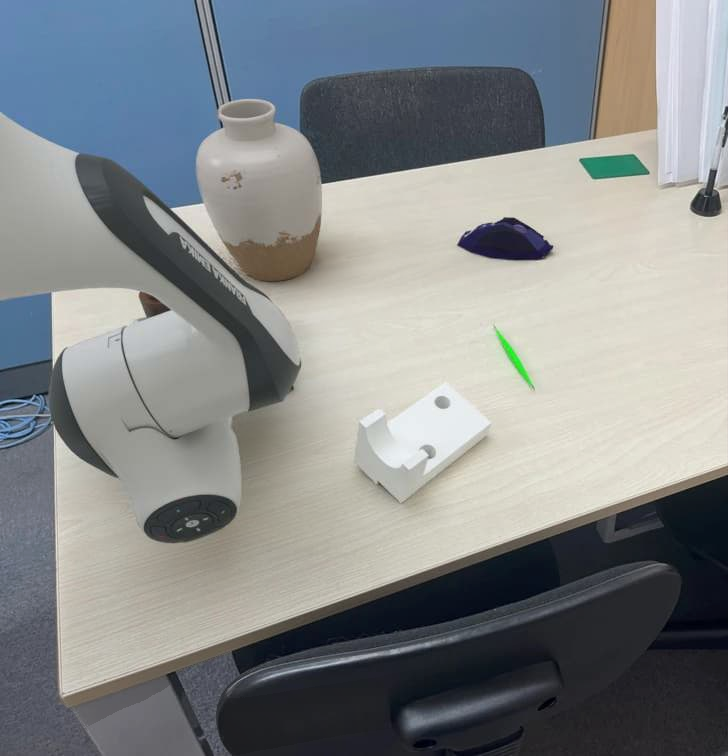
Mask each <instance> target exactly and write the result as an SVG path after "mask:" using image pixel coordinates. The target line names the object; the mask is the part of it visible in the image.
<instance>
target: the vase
mask: <svg viewBox="0 0 728 756" xmlns="http://www.w3.org/2000/svg"><path fill="white" fill-rule="evenodd" d="M276 115H277V108H276V106H275V105H274V104H273V103H272V102H270V101H268V100H264V99H258V98H242V99H236V100H231V101H229V102H225V103H224V104H222V105H220V106H219V107H218V109H217V111H216V116H217V118H218V120H219V121H220V122H221V123H222V126H223V127H222V128H220V129H217V130H215V131H213V132H212V133H210V134H209V135H208V136H207V137H205V138H204V139H203V140H202V142H201V143H200V145H199V147H198V149H197V153H196V158H195V175H196V182H197V187H198V191H199V194H200V197H201V200H202V203H203V206H204V208H205V210H206V213H207V215H208V217H209V218H210V221H211V223H212V225H213V227H214V229H215V231H216V233H217V235H218V236H219V239H220V240H221V241H222V243H223V245H224V246H225V248H226V250H227V251H228V253H229V254H230V255H231V256H232V258H233V259H234V260H235V262H236V264H237V265H238V266H239V267H240V268H241V269H242V270H243V271H244V273H246V274H247V275H248V276H249V277H250V278H252V279H255V280H258V281H262V282H282V281H287V280H290V279H294V278H296V277H298V276H300V275H302V274H304V273H305V272H306V271H308V269H309V268H310V266H311V265H312V262H313V260H314V257H315V253H316V249H317V245H318V242H319V238H320V231H321V226H322V216H323V215H322V214H323V213H322V212H323V184H322V177H321V176H322V175H321V170H320V164H319V161H318V158H317V155H316V153H315V150H314V148H313V147H312V145H311V143H310V142H309V140H308V139H307V138H306V136H304V134H302V132H300V131H299V130H297V129H295V128H293V127H291V126H289V125H286V124H283V123H279V122H275V116H276Z"/></svg>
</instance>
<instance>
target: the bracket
mask: <svg viewBox="0 0 728 756" xmlns="http://www.w3.org/2000/svg"><path fill="white" fill-rule="evenodd" d="M491 425H492V421H491V420H490V419H488V418H487V416H485V415H484V413H482V412H480V410H479V409H478V408H476V407H475V405H473V404H472V403H471V402H469V400H468V399H466V398H465V397H464V396H463V395H462V394H460V392H459V391H457V390H456V389H455V388H454V387H453V386H452V385H451V383H449V382H447V381H445V382H444V383H442V384H440V385H439V386H437V388H435V389H433V390H432V391H431V392H429V393H428V394H426V395H425V396H423V397H422V398H421V399H419V400H418V401H416V402H415V403H413V404H412V405H410V406H409V407H407V408H406V409H405V410H403V411H402V412H400V413H398V414H397V415H396V416H394V417H393V418H391V419H390V420H389V421H387V414H386V413H385V412H384V411H383V410H382V409H381V408H380V407H379V408H377V409H375V410H374V411H373V412H371V413H369V414H368V415H366V416H365V417H364V418H362V419H361V420H359V421H358V428H357V435H356V436H357V437H356V443H355V452H354V460H353V463H354V464H355V465H357V467H358V468H359V469H360V470H361V471H362V472H363V473H364V474H366V476H367V477H368V478H369V479H370V480H371V481H372V482H373V483H374V484H375V485H378V484H380V485H382V486H383V487H384V488H385V489H386V491H388V492H389V493H390V494H391V495H392V497H394V499H395V500H397V501H398V503H400V504H402V503H405V501H406V500H408V499H409V498H410V497H412V496H413V495H414V494H415V493H416V492H417V491H419V490H420V489H421V488H423V487H424V486H425V485H426V484H428V483H429V482H430V481H432V480H433V479H434V478H435V477H437V476H438V475H439V474H440V473H442V472H443V471H444V470H446V469H447V468H448V467H450V465H452V464H453V463H454V462H455V461H457V460H458V459H459V458H461V457H462V456H463V455H465V453H467V452H468V451H470V450H471V449H472V448H473V447H475V446H476V445H478V444H479V442H481V441H482V440H483V439H485V438H486V437H487V436H488V434H489V431H490V428H491Z"/></svg>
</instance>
